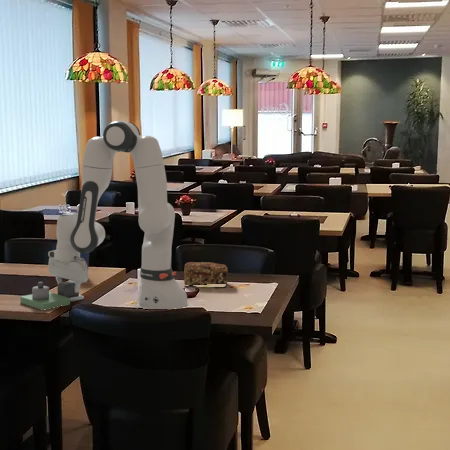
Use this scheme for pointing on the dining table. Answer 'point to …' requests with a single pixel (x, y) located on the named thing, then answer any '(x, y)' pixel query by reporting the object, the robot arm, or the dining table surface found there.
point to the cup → (85, 257)
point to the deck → (46, 303)
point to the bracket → (76, 298)
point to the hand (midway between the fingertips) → (68, 289)
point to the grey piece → (67, 289)
